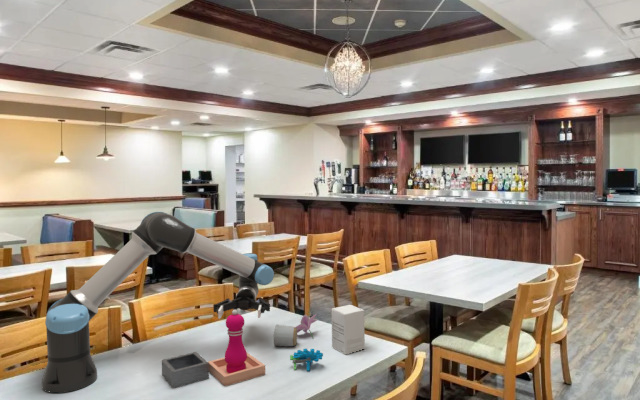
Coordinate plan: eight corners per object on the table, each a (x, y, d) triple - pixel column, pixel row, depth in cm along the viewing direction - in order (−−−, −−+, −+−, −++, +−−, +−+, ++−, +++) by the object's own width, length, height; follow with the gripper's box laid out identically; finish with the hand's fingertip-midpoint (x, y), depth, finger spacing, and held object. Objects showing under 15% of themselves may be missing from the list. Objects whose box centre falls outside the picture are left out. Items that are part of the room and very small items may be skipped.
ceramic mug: (295, 349, 167) (295, 328, 167) (273, 348, 167) (273, 328, 167) (298, 339, 177) (298, 320, 177) (278, 339, 178) (278, 319, 178)
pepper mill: (251, 368, 149) (250, 308, 148) (236, 376, 143) (235, 314, 142) (235, 363, 153) (234, 305, 152) (220, 371, 147) (218, 310, 146)
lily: (322, 333, 186) (312, 312, 188) (328, 331, 175) (318, 308, 177) (296, 346, 182) (286, 324, 184) (300, 345, 171) (290, 321, 174)
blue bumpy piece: (325, 357, 155) (319, 345, 148) (325, 374, 151) (320, 362, 144) (293, 360, 156) (286, 348, 149) (293, 377, 152) (286, 366, 145)
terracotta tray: (224, 386, 138) (224, 376, 138) (207, 370, 149) (207, 361, 149) (265, 374, 146) (265, 365, 146) (246, 360, 157) (246, 351, 157)
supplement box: (350, 342, 173) (350, 303, 172) (365, 349, 165) (365, 309, 165) (331, 347, 168) (330, 307, 167) (345, 355, 161) (344, 314, 160)
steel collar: (172, 388, 137) (172, 372, 137) (162, 375, 146) (161, 359, 146) (208, 378, 144) (208, 362, 143) (196, 366, 153) (195, 351, 153)
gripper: (277, 307, 178) (275, 324, 156) (213, 308, 176) (202, 325, 155) (277, 288, 177) (275, 303, 156) (213, 289, 176) (202, 304, 155)
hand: (239, 314), depth 156 cm, fingers open, 13 cm apart
